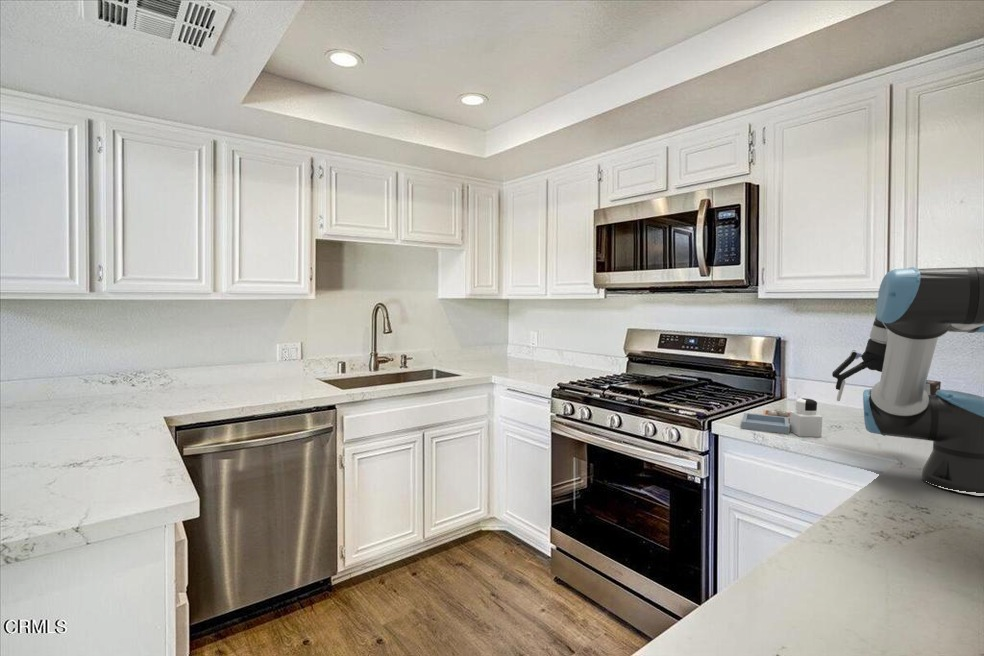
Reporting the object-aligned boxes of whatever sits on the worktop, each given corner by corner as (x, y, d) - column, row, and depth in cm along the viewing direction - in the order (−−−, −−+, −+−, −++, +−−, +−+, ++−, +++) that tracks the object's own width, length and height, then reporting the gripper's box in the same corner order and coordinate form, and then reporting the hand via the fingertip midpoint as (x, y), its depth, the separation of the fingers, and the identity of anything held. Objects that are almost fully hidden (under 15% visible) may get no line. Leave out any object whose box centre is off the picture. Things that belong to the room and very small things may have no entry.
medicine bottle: (810, 431, 175) (812, 397, 174) (821, 437, 168) (823, 401, 167) (788, 430, 175) (790, 396, 174) (799, 436, 168) (800, 401, 167)
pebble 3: (788, 420, 187) (788, 412, 186) (778, 419, 188) (779, 411, 188) (788, 418, 189) (788, 411, 189) (778, 417, 191) (779, 410, 191)
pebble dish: (793, 423, 184) (793, 418, 184) (762, 420, 189) (762, 415, 189) (792, 417, 193) (793, 412, 193) (763, 414, 198) (763, 409, 198)
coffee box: (932, 429, 177) (935, 384, 176) (909, 425, 182) (911, 381, 181) (938, 424, 183) (941, 381, 181) (915, 421, 188) (918, 378, 186)
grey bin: (788, 434, 171) (789, 426, 171) (741, 428, 178) (741, 421, 178) (788, 424, 184) (788, 417, 183) (743, 419, 191) (744, 412, 190)
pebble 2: (782, 418, 191) (782, 410, 190) (773, 417, 192) (773, 409, 192) (782, 416, 193) (782, 408, 193) (773, 415, 195) (773, 407, 194)
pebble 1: (777, 419, 188) (777, 411, 188) (767, 418, 190) (768, 410, 190) (777, 417, 191) (777, 410, 191) (768, 416, 193) (768, 409, 192)
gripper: (935, 347, 147) (913, 413, 153) (834, 329, 159) (817, 390, 165) (940, 354, 140) (916, 422, 147) (835, 334, 153) (817, 398, 159)
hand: (864, 405), depth 156 cm, fingers open, 13 cm apart
